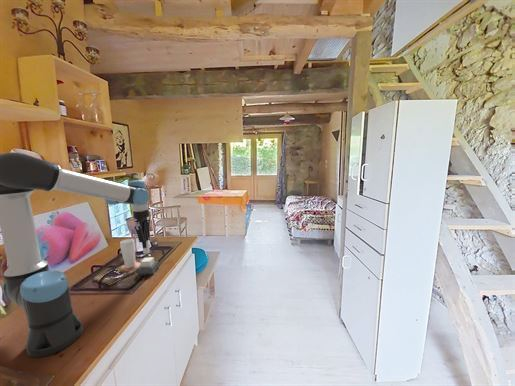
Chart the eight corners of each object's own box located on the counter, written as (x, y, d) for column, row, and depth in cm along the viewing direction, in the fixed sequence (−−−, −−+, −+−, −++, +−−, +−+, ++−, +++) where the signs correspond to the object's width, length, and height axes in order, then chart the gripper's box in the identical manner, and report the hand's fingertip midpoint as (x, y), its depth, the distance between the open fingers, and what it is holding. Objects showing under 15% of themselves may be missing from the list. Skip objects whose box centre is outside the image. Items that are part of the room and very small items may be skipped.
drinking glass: (127, 270, 130) (123, 244, 128) (121, 267, 134) (117, 241, 132) (139, 265, 136) (136, 240, 133) (133, 262, 140) (130, 238, 137)
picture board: (109, 285, 118) (108, 283, 118) (94, 280, 125) (94, 277, 124) (148, 266, 137) (147, 264, 137) (133, 262, 144) (133, 260, 143)
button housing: (153, 274, 127) (152, 267, 126) (138, 275, 127) (137, 268, 126) (159, 267, 135) (158, 260, 134) (144, 268, 135) (143, 261, 134)
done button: (151, 269, 128) (150, 261, 127) (141, 269, 128) (140, 261, 127) (154, 264, 133) (153, 257, 132) (145, 265, 133) (144, 257, 132)
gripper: (142, 212, 119) (148, 257, 123) (153, 206, 132) (158, 247, 136) (126, 213, 119) (133, 258, 123) (139, 207, 131) (144, 248, 136)
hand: (146, 252), depth 129 cm, fingers closed
